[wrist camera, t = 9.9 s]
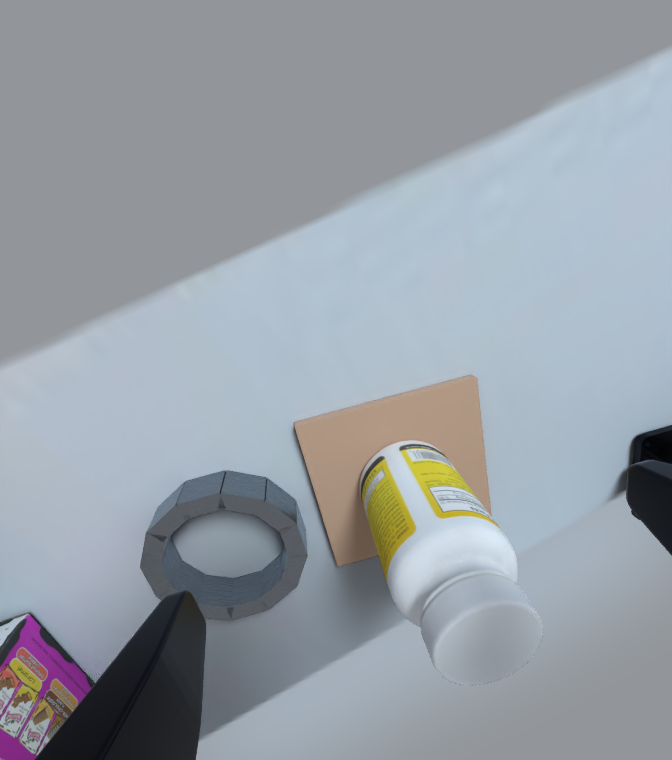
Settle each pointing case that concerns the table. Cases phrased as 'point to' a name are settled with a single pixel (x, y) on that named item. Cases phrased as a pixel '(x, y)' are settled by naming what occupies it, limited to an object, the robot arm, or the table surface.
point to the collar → (220, 592)
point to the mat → (378, 430)
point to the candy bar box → (34, 688)
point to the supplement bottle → (448, 565)
